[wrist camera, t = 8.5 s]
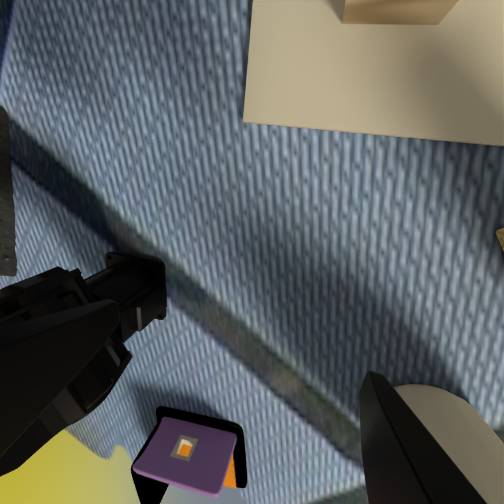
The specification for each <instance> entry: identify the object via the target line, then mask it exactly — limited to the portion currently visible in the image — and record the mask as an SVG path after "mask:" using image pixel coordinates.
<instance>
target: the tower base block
mask: <svg viewBox="0 0 504 504" xmlns="http://www.w3.org/2000/svg"><path fill="white" fill-rule="evenodd" d="M458 1H459V0H346V2H345V9H344V15H343V22H342V24H392V25H438V24H439V23H440V22H441V21H442V20H443V18H444V17H445V16H446V15H447V14H448V13H449V12H450V10H451V9H452V8H453V7H454V6H455V5H456V3H457V2H458Z"/></svg>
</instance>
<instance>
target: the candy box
mask: <svg viewBox="0 0 504 504" xmlns="http://www.w3.org/2000/svg"><path fill="white" fill-rule="evenodd" d="M496 235H497V237H498V240H499V242H500V244H501V246H502V249H503V251H504V228H502V229H499V230H497V231H496Z"/></svg>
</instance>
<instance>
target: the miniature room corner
mask: <svg viewBox="0 0 504 504" xmlns="http://www.w3.org/2000/svg"><path fill="white" fill-rule="evenodd" d="M156 417H157V422H158V423H157V425H156V426H155V428H154V429H153V431H152V433H151V434H150V436H149V437H148V439H147V441H146V442H145V444H144V445H143V447H142V449H141V450H140V452H139V454H138V455H137V457H136V458H135V460H134V462H133V464H132V466H131V474H132V478H133V481H134V484H135V487H136V491H137V494H138V497H139V500H140V503H141V504H160V502H161V500H162V498H163V496H164V494H165V491H166V489H167V487H168V485H169V484H171V485H174V486H177V487H180V488H183V489H187V490H190V491H193V492H196V493H199V494H202V495H205V496H209V497H213V498H218V497H219V495H220V493H221V490H222V487H223V486H226V487H230V488H234V489H235V488H236V487H238V488H245V487H246V485H247V466H246V453H245V442H244V433H243V429H242V427H241V426H240V425H238V424H236V423H233V422H229V421H225V420H221V419H217V418H213V417H208V416H204V415H200V414H196V413H191V412H187V411H183V410H178V409H174V408H169V407H164V406H159V407H158V408H157V409H156Z"/></svg>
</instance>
